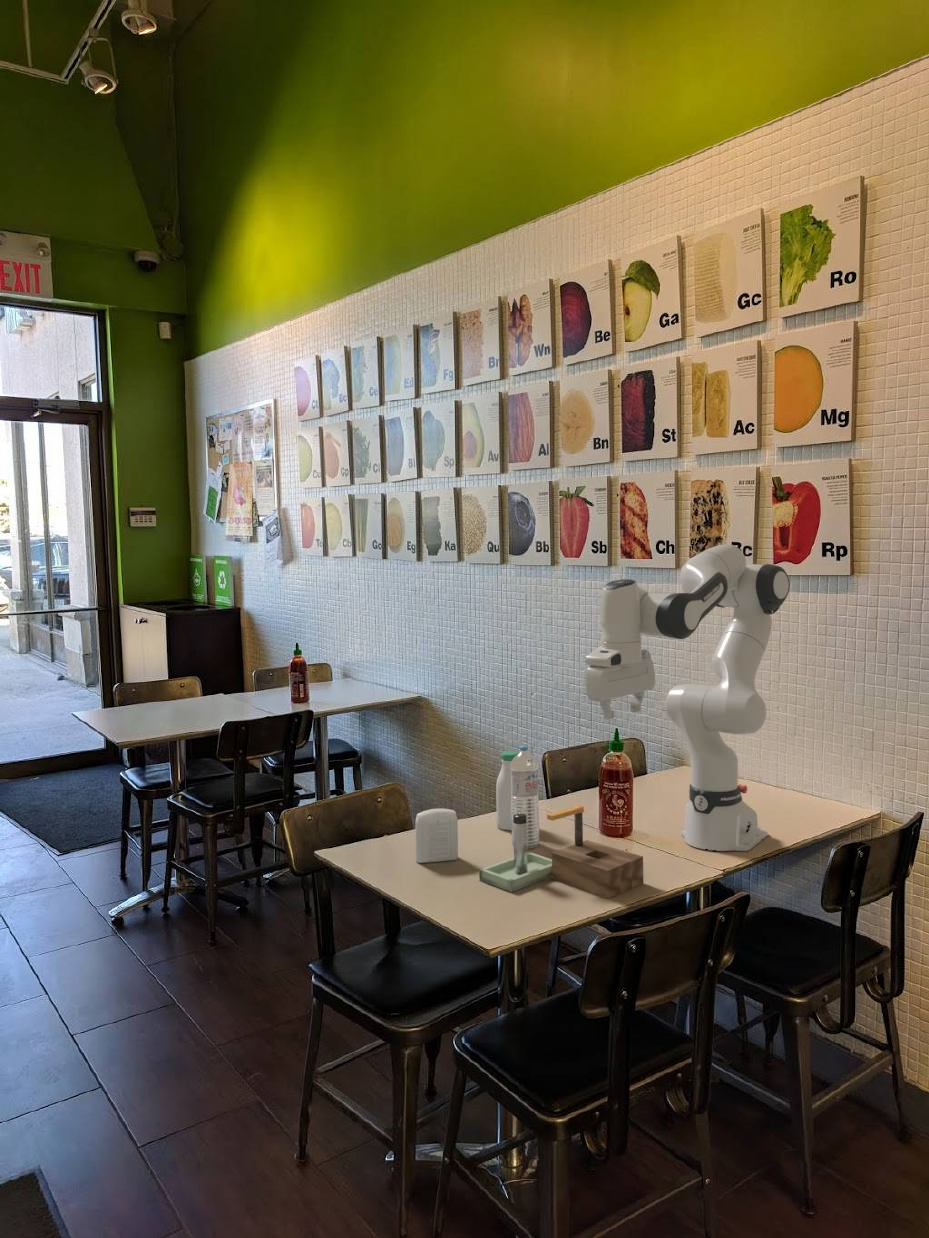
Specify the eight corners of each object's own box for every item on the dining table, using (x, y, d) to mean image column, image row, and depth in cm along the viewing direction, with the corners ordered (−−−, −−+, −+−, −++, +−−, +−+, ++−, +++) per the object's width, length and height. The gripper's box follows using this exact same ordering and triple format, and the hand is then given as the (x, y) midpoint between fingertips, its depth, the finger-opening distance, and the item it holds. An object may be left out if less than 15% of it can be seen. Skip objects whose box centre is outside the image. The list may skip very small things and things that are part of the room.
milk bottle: (531, 828, 240) (529, 754, 238) (504, 833, 237) (502, 757, 235) (518, 820, 247) (517, 748, 245) (492, 824, 244) (490, 751, 242)
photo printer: (456, 854, 222) (454, 804, 220) (460, 860, 217) (459, 809, 216) (414, 859, 219) (413, 808, 218) (417, 865, 215) (416, 813, 214)
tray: (529, 862, 215) (529, 851, 215) (561, 872, 207) (560, 862, 207) (479, 880, 204) (479, 869, 204) (511, 892, 197) (510, 880, 197)
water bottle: (517, 851, 223) (514, 750, 221) (508, 842, 229) (506, 744, 227) (543, 848, 225) (541, 748, 222) (533, 839, 231) (532, 742, 229)
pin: (520, 868, 208) (519, 812, 207) (530, 872, 206) (529, 815, 205) (511, 872, 206) (510, 815, 205) (521, 875, 204) (520, 818, 203)
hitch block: (587, 865, 212) (586, 807, 211) (643, 883, 200) (642, 822, 199) (552, 878, 204) (551, 819, 203) (608, 898, 192) (607, 835, 191)
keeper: (578, 809, 209) (578, 805, 209) (585, 811, 207) (585, 807, 207) (545, 818, 203) (545, 814, 203) (553, 821, 201) (553, 816, 201)
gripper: (638, 647, 211) (640, 706, 212) (580, 658, 197) (582, 720, 199) (661, 649, 206) (662, 709, 207) (602, 660, 193) (604, 724, 194)
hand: (622, 715), depth 203 cm, fingers open, 8 cm apart
